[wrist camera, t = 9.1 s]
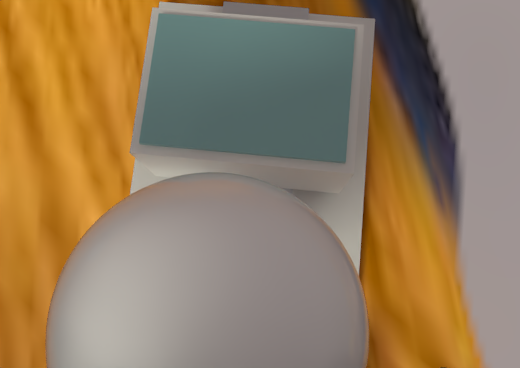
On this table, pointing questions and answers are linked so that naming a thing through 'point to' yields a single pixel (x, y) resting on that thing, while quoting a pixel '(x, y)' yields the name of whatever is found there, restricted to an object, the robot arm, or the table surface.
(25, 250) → the table surface
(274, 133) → the module rail
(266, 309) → the lightbulb
